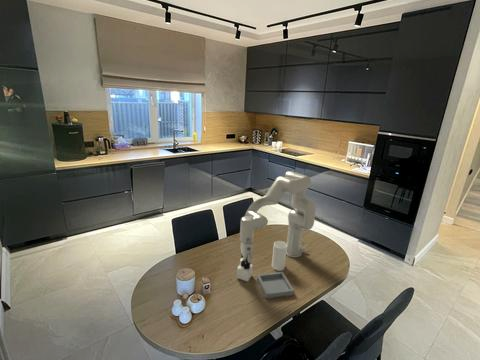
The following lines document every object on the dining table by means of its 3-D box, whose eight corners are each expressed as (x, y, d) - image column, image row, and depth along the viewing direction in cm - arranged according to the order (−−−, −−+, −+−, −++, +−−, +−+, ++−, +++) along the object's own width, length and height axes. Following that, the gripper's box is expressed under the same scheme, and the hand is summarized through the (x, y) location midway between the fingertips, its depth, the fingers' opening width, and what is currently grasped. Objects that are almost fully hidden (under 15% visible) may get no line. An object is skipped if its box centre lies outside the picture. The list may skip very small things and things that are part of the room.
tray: (282, 275, 154) (282, 271, 153) (293, 294, 139) (294, 290, 138) (256, 279, 150) (257, 274, 149) (265, 299, 135) (266, 294, 134)
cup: (285, 264, 165) (288, 242, 160) (283, 272, 158) (286, 249, 153) (273, 261, 167) (275, 239, 163) (270, 268, 160) (272, 246, 155)
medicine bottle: (252, 274, 153) (253, 257, 149) (247, 282, 147) (248, 264, 143) (241, 271, 156) (242, 254, 152) (236, 278, 150) (237, 260, 146)
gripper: (257, 245, 136) (255, 273, 142) (248, 229, 152) (247, 255, 158) (244, 247, 135) (242, 275, 140) (236, 230, 150) (235, 257, 156)
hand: (245, 264), depth 149 cm, fingers closed on medicine bottle, 6 cm apart
